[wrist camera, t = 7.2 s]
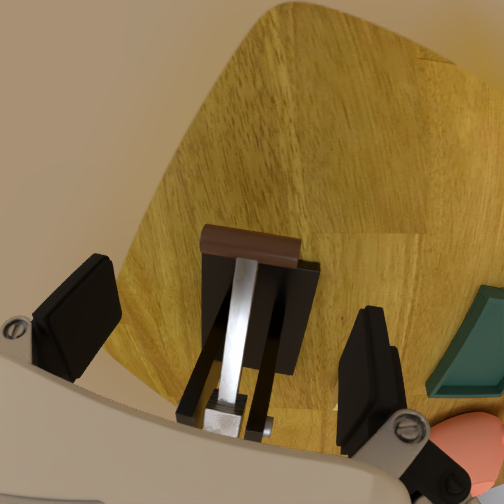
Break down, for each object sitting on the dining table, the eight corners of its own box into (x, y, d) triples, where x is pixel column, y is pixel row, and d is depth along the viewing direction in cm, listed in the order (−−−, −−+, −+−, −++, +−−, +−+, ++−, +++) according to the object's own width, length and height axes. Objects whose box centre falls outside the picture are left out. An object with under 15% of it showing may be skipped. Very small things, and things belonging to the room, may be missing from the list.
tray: (481, 284, 22) (489, 297, 21) (552, 297, 21) (560, 308, 20) (424, 384, 29) (427, 398, 27) (496, 385, 28) (500, 397, 26)
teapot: (513, 368, 26) (545, 452, 15) (529, 410, 29) (549, 474, 18) (369, 446, 36) (368, 525, 25) (414, 471, 39) (417, 533, 28)
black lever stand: (206, 244, 25) (131, 360, 14) (320, 263, 24) (316, 402, 13) (205, 349, 31) (160, 457, 20) (293, 367, 30) (276, 484, 19)
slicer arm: (211, 222, 18) (199, 224, 16) (301, 237, 17) (301, 241, 15) (191, 414, 20) (180, 434, 18) (262, 430, 19) (257, 452, 17)
